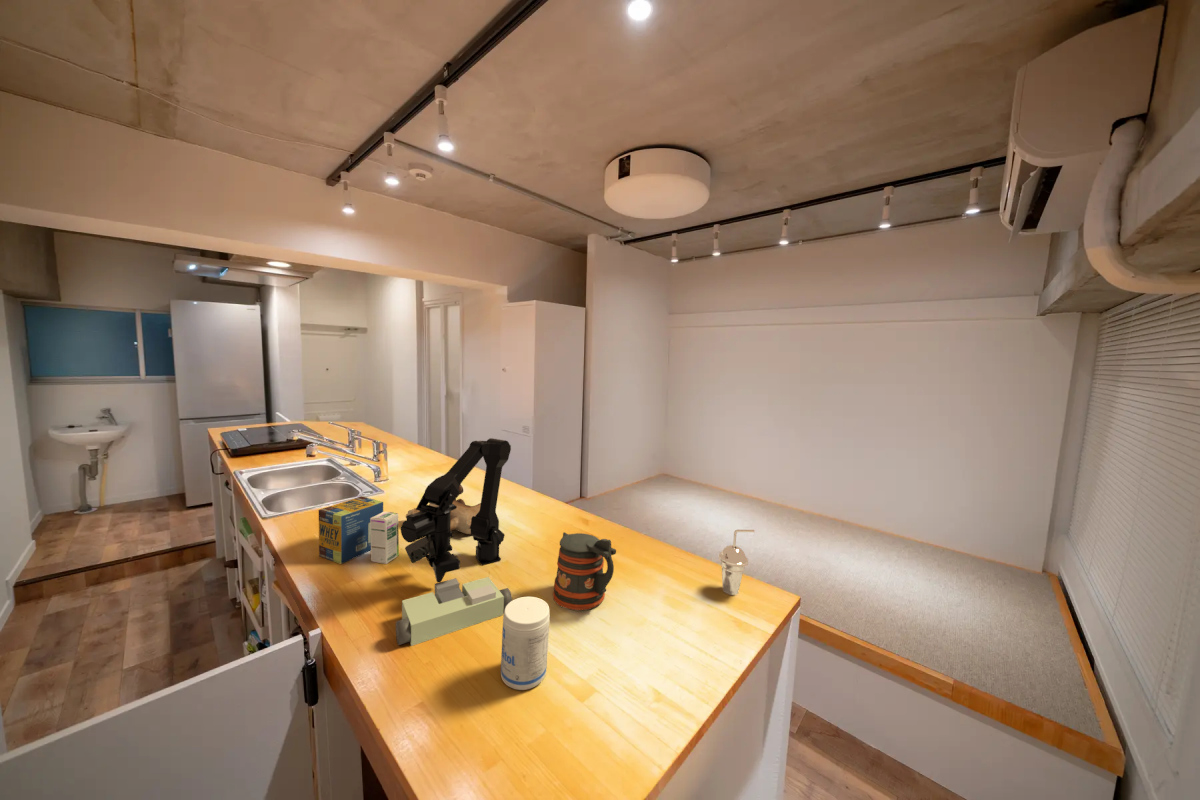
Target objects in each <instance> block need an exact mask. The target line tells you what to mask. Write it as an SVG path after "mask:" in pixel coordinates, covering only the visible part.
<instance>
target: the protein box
mask: <svg viewBox="0 0 1200 800" xmlns="http://www.w3.org/2000/svg"><path fill="white" fill-rule="evenodd" d="M382 512H384V501H380V500H377V499H373V498H371V497H366V496H362V495H361V496H358V497H355V498H352V499H348V500H346V501H342V502H340V503H337V504H336V503H335V504H333V505H331V506H328V507H324V508H321V509H318V556H319V557H320V558H323V559H325V560H329V561H331V562H334V563H337V564H340V565H341V564H345V563H347V562H349V561H351V560H353V559H355V558H357V557H360V556H362V555H364V554H367V553H369V552H371V528H370V518H372V517H374V516H376V515H378V514H380V513H382Z"/></svg>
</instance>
